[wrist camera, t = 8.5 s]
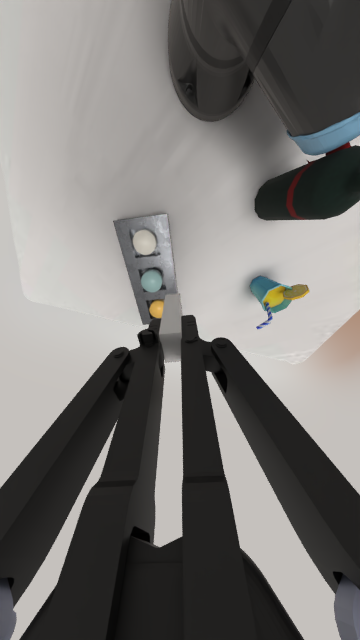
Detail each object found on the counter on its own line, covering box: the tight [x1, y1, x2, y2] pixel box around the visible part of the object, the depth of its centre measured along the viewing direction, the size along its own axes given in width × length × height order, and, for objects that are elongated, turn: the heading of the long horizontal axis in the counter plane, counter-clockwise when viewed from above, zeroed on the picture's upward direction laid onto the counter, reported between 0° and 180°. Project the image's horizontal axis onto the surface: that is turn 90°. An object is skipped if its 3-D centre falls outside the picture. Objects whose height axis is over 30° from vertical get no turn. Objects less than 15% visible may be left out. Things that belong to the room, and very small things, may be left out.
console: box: [113, 214, 178, 325], centre depth 43 cm, size 28×12×4 cm, turn 6°
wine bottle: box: [255, 142, 360, 220], centre depth 23 cm, size 8×10×30 cm
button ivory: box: [133, 229, 157, 255], centre depth 38 cm, size 5×5×4 cm
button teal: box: [141, 269, 163, 292], centre depth 41 cm, size 5×5×4 cm
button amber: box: [150, 299, 165, 318], centre depth 47 cm, size 5×5×4 cm
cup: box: [250, 276, 309, 330], centre depth 41 cm, size 14×8×15 cm, turn 142°
